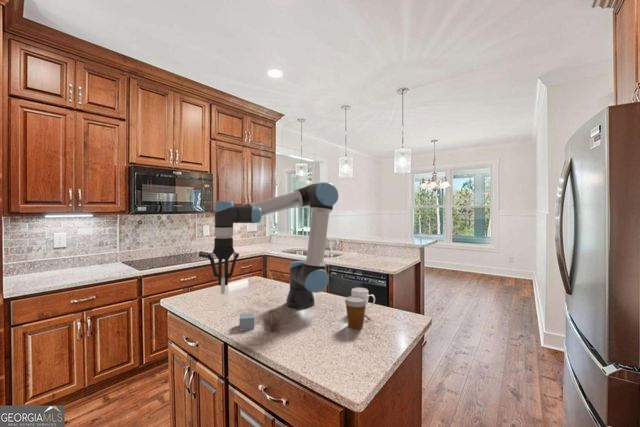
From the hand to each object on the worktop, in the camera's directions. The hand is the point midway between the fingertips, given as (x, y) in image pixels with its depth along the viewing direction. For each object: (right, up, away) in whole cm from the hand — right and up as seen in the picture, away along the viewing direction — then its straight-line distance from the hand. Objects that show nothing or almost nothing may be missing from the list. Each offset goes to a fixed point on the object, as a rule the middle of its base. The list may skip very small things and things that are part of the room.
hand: (223, 292), depth 122 cm
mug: (+62, -16, +20) cm, 67 cm away
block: (+10, -15, +2) cm, 18 cm away
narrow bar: (+20, -15, +5) cm, 26 cm away
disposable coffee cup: (+57, -16, +4) cm, 59 cm away
